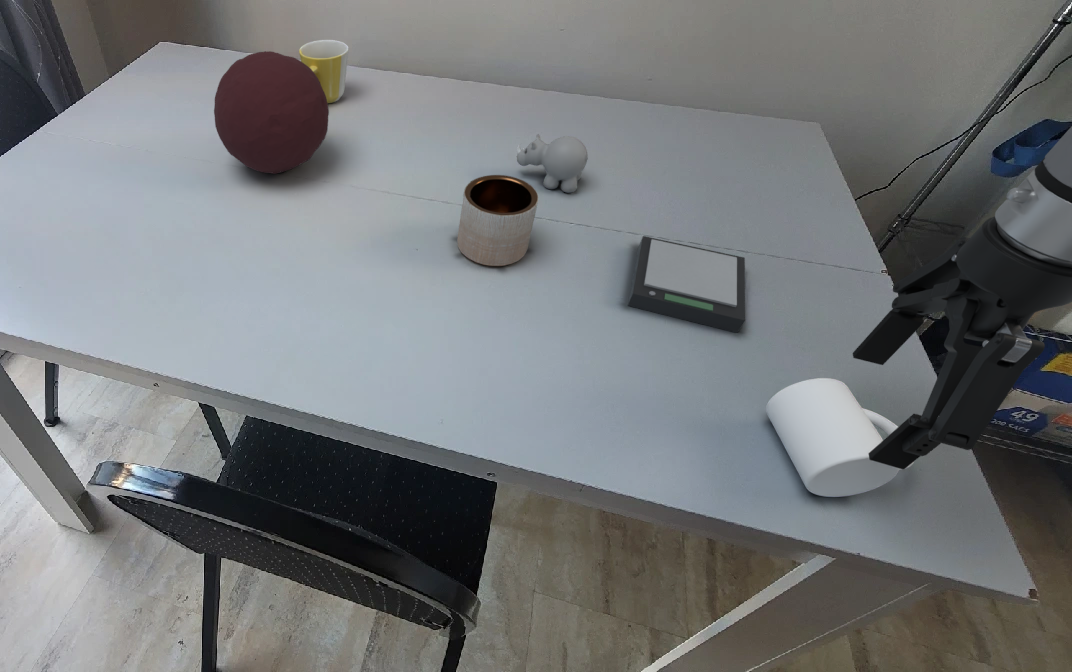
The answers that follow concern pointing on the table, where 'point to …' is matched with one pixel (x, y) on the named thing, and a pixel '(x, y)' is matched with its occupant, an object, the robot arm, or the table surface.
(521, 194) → the planter
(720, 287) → the scale
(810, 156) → the table surface
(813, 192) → the table surface
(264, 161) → the decorative sphere
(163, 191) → the table surface
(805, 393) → the mug
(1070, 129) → the robot arm
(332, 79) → the mug
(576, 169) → the chubby cartoon animal
